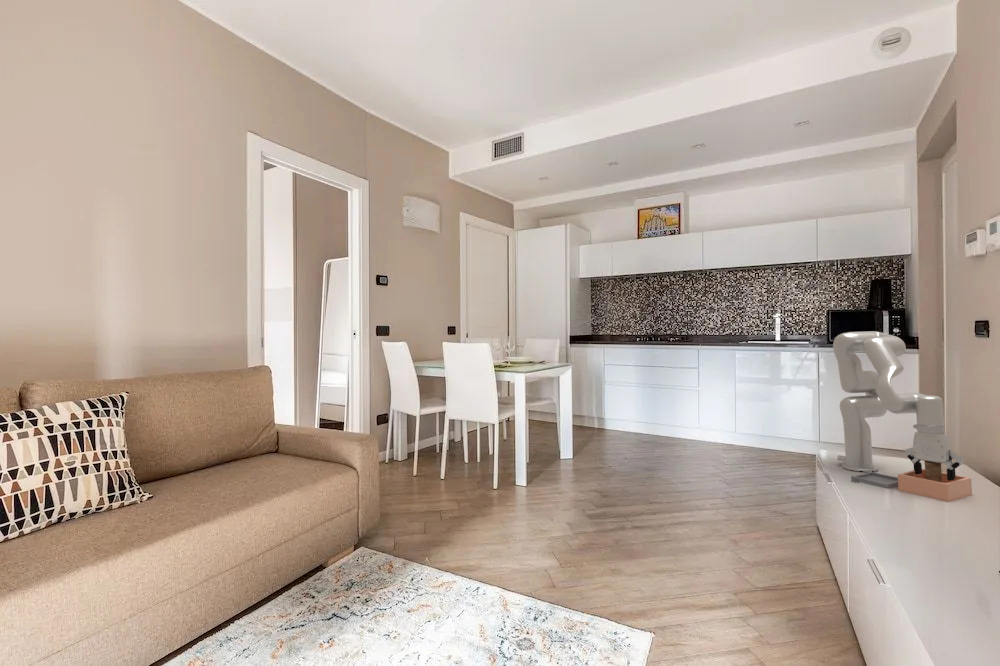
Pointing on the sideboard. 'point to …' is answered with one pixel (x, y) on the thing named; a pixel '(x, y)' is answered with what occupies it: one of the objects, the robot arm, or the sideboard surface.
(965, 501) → the sideboard surface
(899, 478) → the terracotta open box
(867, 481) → the grey tray
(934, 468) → the walnut dowel
